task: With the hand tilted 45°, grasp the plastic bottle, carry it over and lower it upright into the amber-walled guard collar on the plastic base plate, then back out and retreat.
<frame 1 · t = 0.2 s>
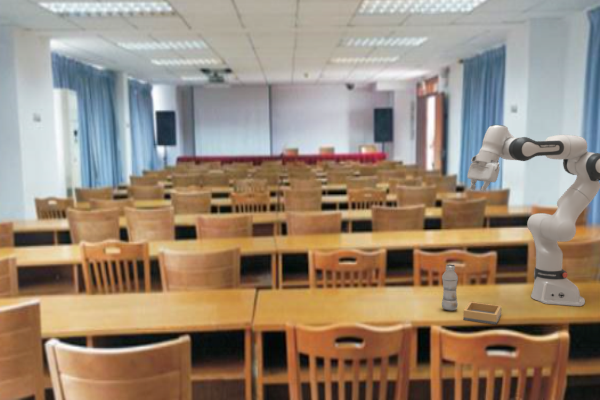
hand: (477, 190, 240), 52 cm above the table, tool tilted 20°, fingers open, 8 cm apart
plastic bottle: (449, 310, 240), on the table
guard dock: (482, 317, 230), on the table
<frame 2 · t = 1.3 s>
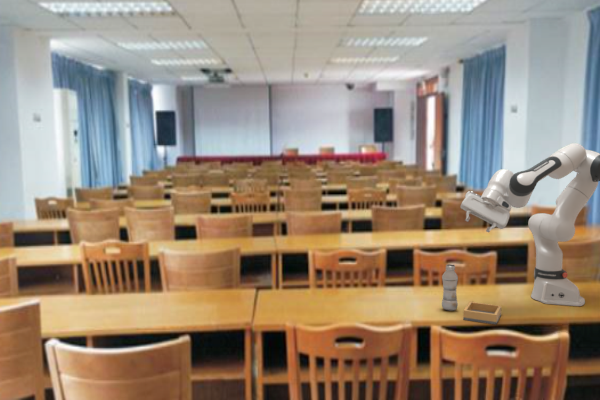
hand: (477, 225, 231), 38 cm above the table, tool tilted 45°, fingers open, 8 cm apart
nothing on the table moved.
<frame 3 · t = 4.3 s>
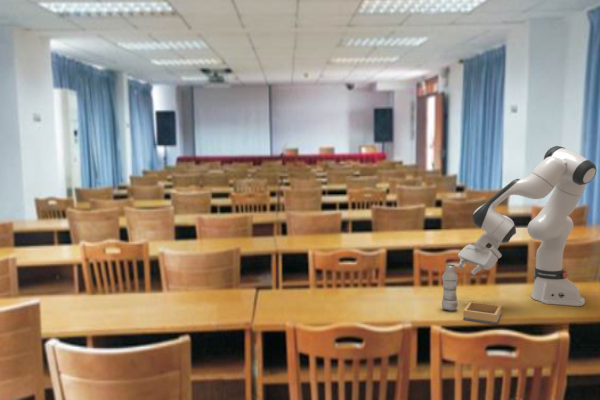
hand: (465, 270, 239), 17 cm above the table, tool tilted 45°, fingers open, 8 cm apart
nothing on the table moved.
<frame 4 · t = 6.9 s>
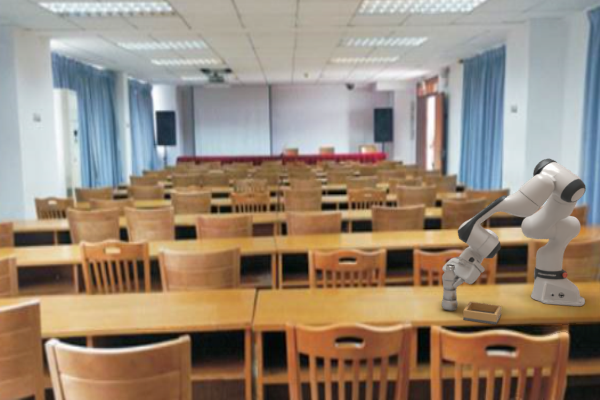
hand: (448, 284, 239), 11 cm above the table, tool tilted 45°, fingers closed on plastic bottle, 6 cm apart
plastic bottle: (449, 310, 240), on the table, touching gripper
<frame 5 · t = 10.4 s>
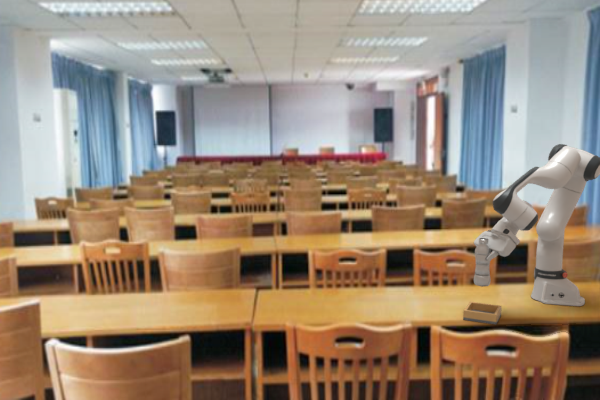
hand: (481, 258, 228), 25 cm above the table, tool tilted 45°, fingers closed on plastic bottle, 6 cm apart
plastic bottle: (481, 286, 229), point 13 cm above the table, touching gripper
when the fingers open (14 cm above the table, at t = 14.2 s): plastic bottle moves 2 cm, resting on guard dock.
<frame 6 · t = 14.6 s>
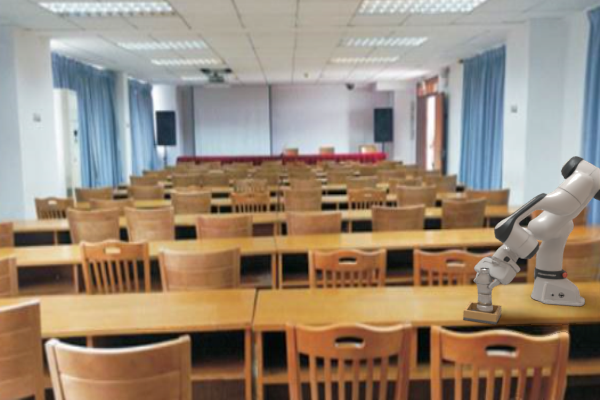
hand: (482, 285, 228), 14 cm above the table, tool tilted 45°, fingers open, 8 cm apart
plastic bottle: (484, 316, 228), point 1 cm above the table, touching gripper, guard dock
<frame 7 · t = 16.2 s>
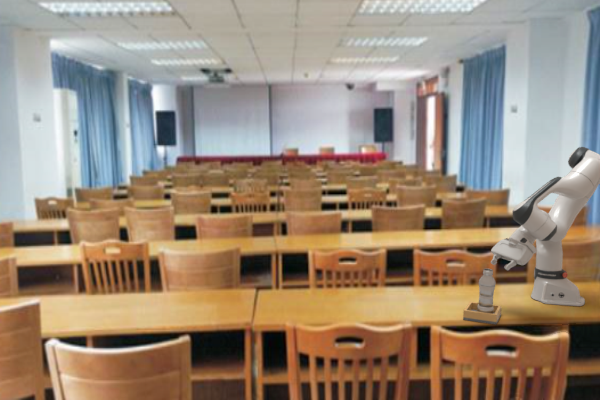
hand: (498, 266, 231), 21 cm above the table, tool tilted 45°, fingers open, 8 cm apart
plastic bottle: (484, 316, 228), point 1 cm above the table, touching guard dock
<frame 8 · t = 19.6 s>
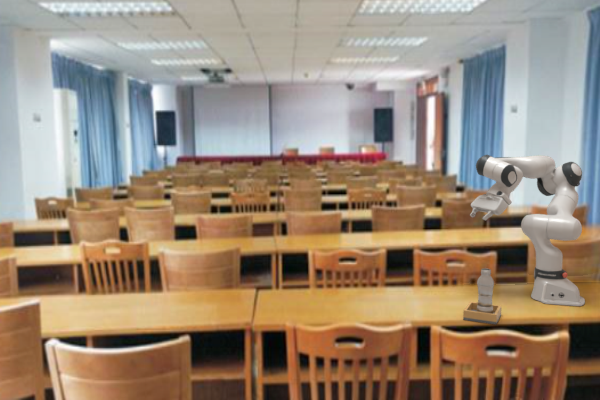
hand: (477, 217, 256), 37 cm above the table, tool tilted 45°, fingers open, 8 cm apart
at the end: plastic bottle inside the target area on the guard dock (2.0 cm from its centre), point 0.8 cm above the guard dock's base; plastic bottle tilted 0°; the gripper is holding nothing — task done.
